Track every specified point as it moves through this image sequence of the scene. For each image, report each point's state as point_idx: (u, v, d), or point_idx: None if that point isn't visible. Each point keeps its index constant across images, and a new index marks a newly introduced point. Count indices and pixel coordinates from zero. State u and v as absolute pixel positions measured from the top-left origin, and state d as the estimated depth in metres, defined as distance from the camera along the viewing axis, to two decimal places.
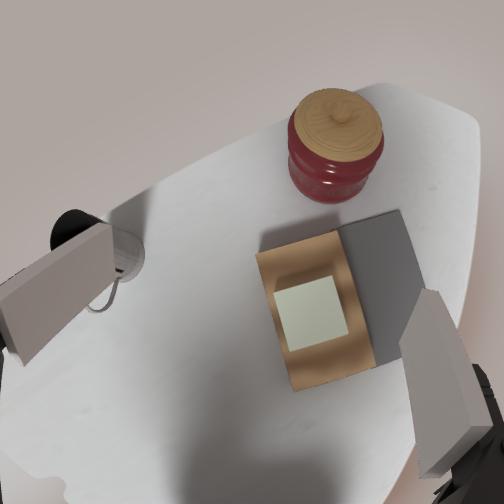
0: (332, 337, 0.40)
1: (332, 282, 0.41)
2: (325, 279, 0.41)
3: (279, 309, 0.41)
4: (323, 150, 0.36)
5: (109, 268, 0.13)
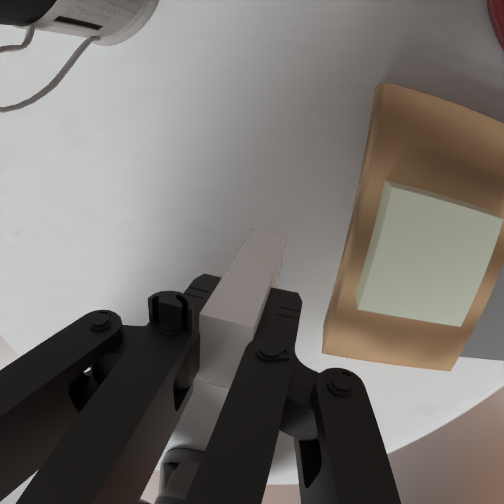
0: (436, 320, 0.19)
1: (496, 232, 0.16)
2: (491, 220, 0.15)
3: (386, 226, 0.17)
4: None
5: None
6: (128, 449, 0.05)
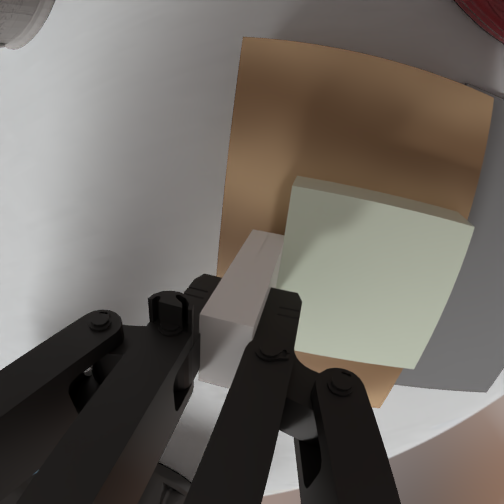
0: (377, 361, 0.15)
1: (464, 246, 0.11)
2: (455, 228, 0.11)
3: (288, 241, 0.13)
4: None
5: None
6: (128, 449, 0.05)
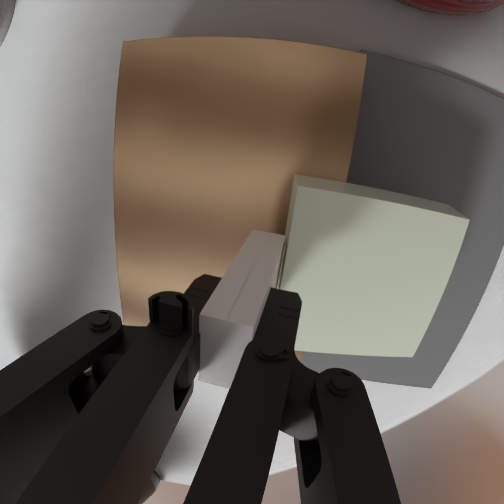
0: (379, 353, 0.15)
1: (460, 238, 0.12)
2: (452, 221, 0.12)
3: (293, 242, 0.13)
4: None
5: None
6: (128, 449, 0.05)
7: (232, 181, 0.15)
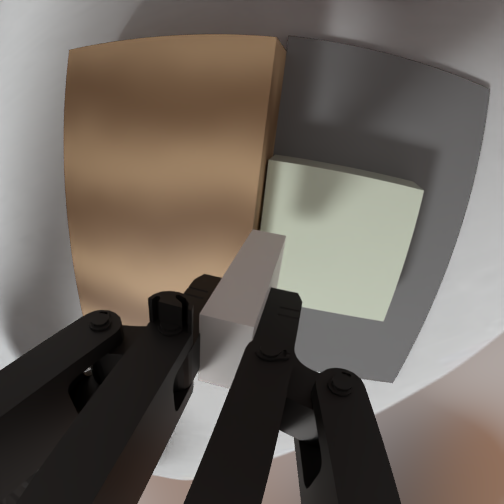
0: (349, 312, 0.18)
1: (416, 206, 0.15)
2: (406, 191, 0.15)
3: (267, 204, 0.16)
4: None
5: None
6: (128, 449, 0.05)
7: (157, 169, 0.15)
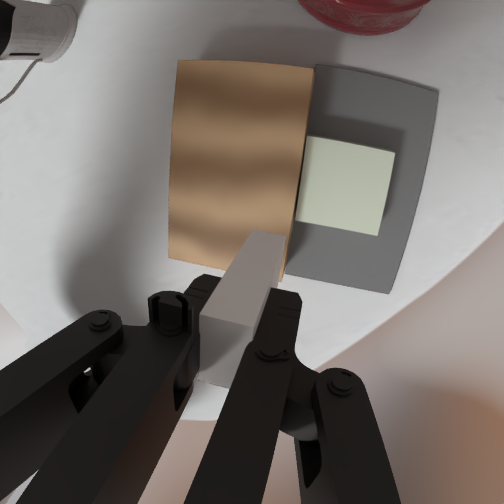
0: (355, 229, 0.29)
1: (391, 162, 0.26)
2: (385, 153, 0.26)
3: (305, 161, 0.28)
4: None
5: None
6: (128, 449, 0.05)
7: (242, 139, 0.27)
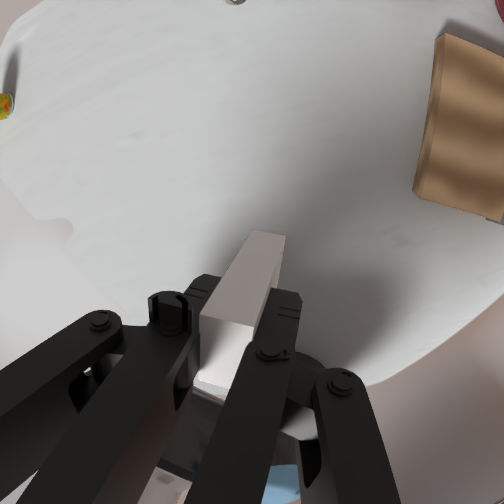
0: None
1: None
2: None
3: None
4: None
5: None
6: (128, 449, 0.05)
7: (490, 107, 0.26)
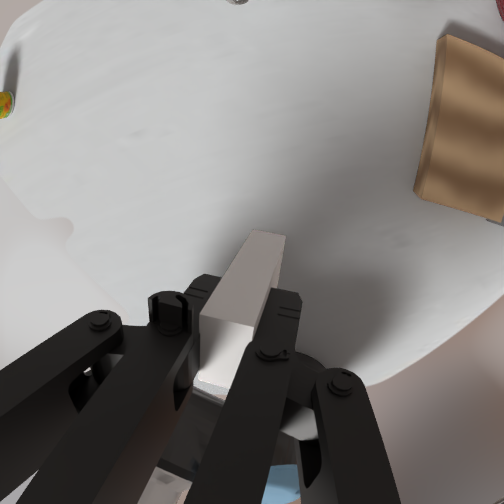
0: None
1: None
2: None
3: None
4: None
5: None
6: (128, 449, 0.05)
7: (492, 108, 0.26)
